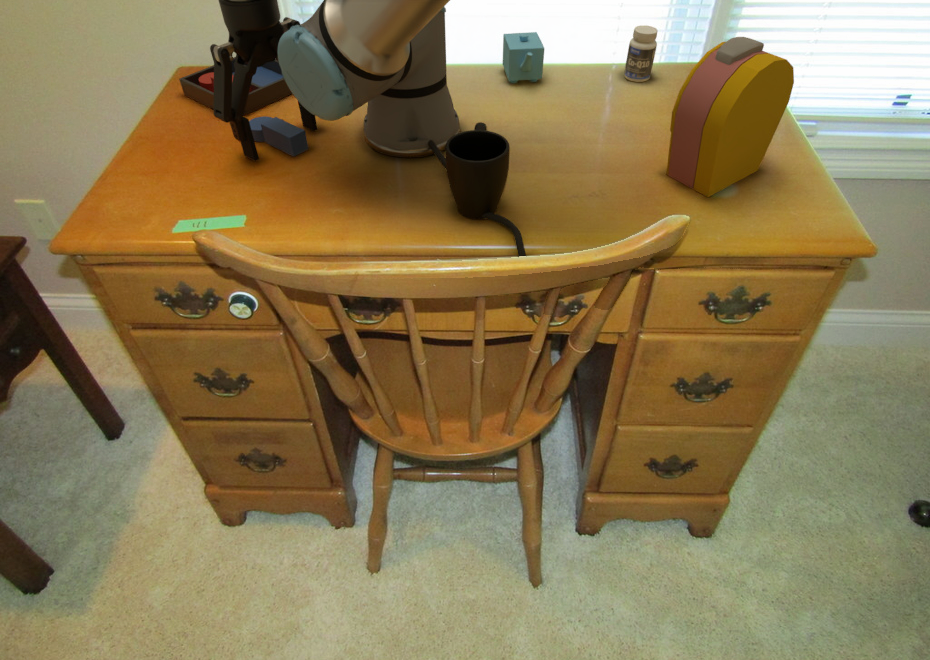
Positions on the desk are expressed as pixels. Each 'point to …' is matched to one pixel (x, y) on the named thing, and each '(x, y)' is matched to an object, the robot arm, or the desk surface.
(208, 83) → the red rounded-end block
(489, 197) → the mug
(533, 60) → the teapot
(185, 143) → the desk surface
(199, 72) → the organizer
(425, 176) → the desk surface
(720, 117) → the alarm clock
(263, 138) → the blue round-headed block
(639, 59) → the pill bottle
